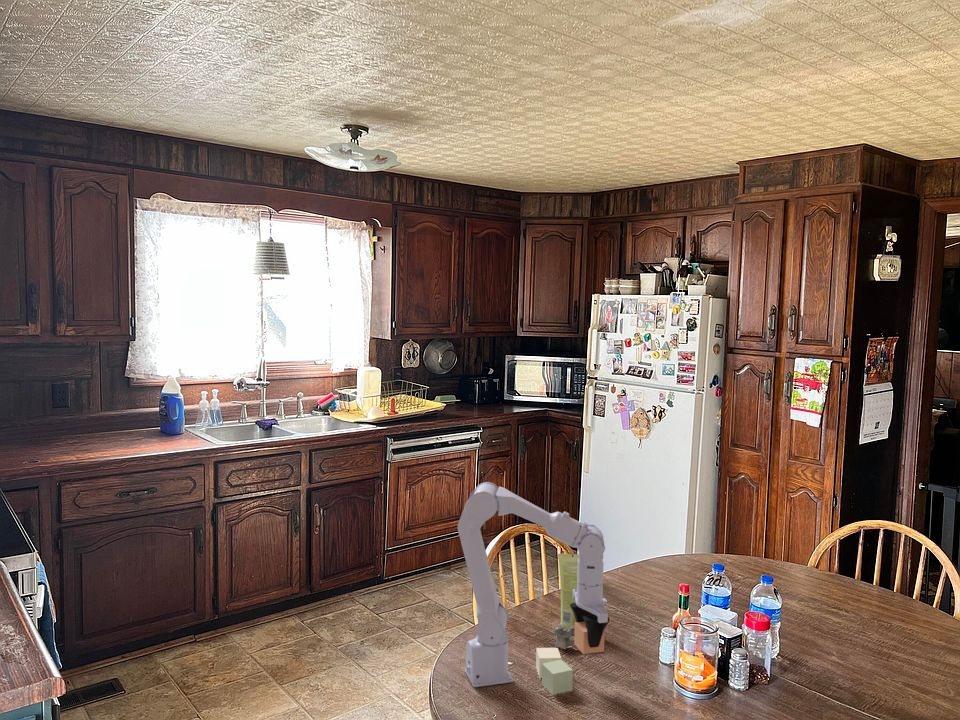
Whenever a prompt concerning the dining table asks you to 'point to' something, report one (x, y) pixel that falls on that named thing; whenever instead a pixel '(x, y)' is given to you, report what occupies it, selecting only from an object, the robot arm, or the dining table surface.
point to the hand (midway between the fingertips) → (588, 640)
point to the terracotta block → (586, 639)
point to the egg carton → (564, 636)
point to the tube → (568, 586)
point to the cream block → (545, 657)
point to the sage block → (557, 677)
